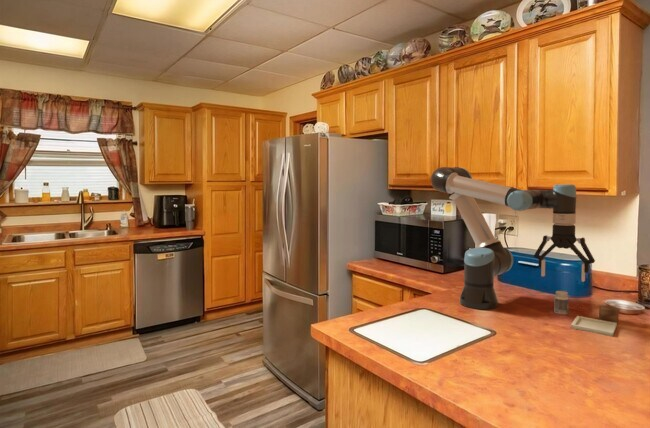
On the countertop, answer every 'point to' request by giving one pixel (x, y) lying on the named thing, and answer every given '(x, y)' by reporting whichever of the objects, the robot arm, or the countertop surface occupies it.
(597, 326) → the tray
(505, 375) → the countertop surface
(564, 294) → the pill bottle
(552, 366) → the countertop surface
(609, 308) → the walnut cube
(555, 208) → the robot arm
